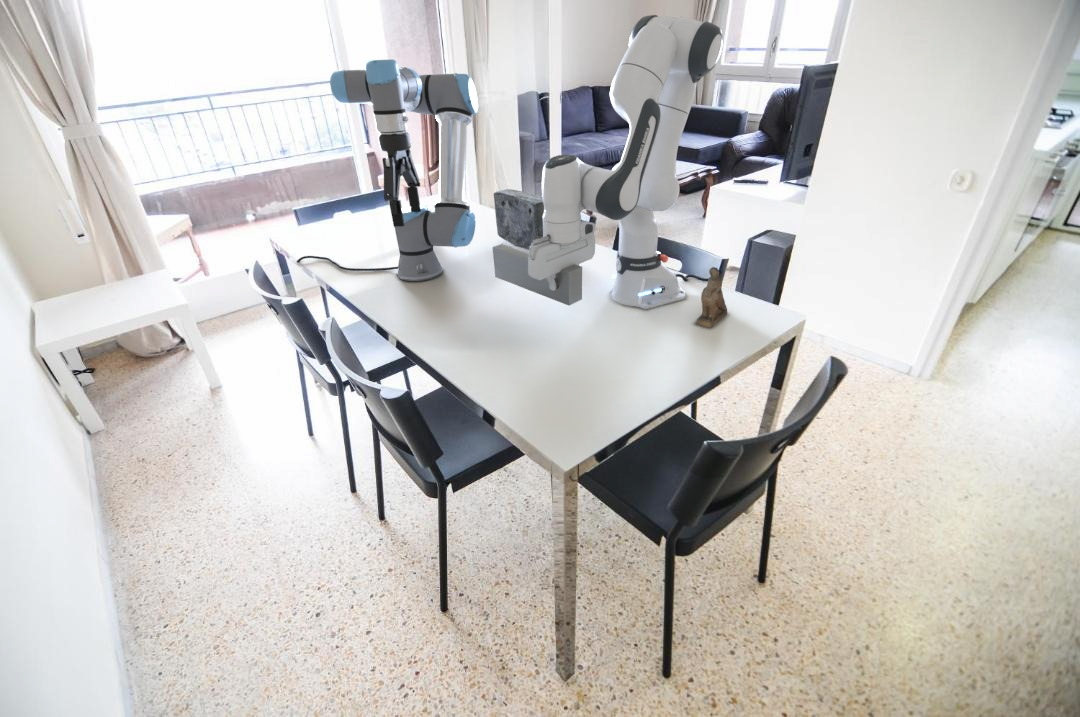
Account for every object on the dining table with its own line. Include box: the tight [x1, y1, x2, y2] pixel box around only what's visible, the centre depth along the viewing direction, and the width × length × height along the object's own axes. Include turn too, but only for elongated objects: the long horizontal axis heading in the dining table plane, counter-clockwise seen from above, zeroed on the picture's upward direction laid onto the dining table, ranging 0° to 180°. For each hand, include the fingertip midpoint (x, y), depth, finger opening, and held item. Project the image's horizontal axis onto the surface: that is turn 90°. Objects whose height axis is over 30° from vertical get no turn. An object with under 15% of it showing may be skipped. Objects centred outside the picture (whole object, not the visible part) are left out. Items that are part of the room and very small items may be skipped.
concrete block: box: [493, 188, 544, 250], centre depth 191 cm, size 27×9×20 cm, turn 36°
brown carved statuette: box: [695, 266, 728, 328], centre depth 135 cm, size 12×6×18 cm, turn 136°
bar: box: [492, 242, 583, 306], centre depth 128 cm, size 28×5×9 cm, turn 44°
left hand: (408, 218), depth 133 cm, fingers open, 13 cm apart
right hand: (562, 285), depth 123 cm, fingers closed on bar, 5 cm apart
